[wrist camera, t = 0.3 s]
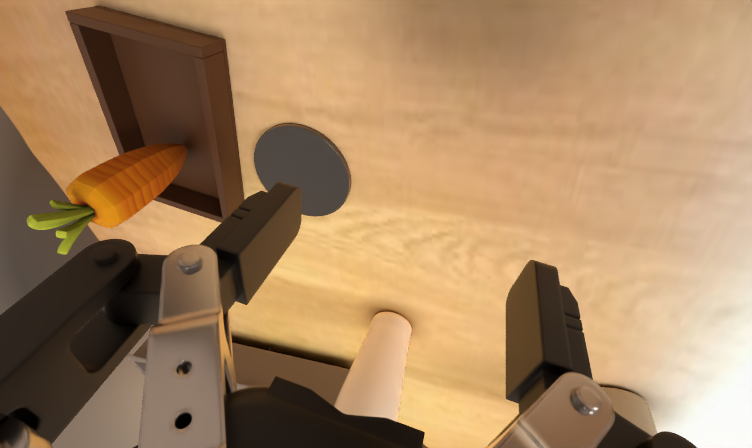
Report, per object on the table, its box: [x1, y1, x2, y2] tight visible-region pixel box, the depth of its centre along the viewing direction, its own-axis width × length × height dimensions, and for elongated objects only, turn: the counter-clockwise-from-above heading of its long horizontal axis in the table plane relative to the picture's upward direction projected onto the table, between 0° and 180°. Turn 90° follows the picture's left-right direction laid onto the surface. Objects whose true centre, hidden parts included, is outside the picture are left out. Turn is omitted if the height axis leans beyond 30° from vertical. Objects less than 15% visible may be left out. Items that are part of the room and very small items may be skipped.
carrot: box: [27, 143, 187, 254], centre depth 30 cm, size 5×5×15 cm
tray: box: [65, 6, 244, 223], centre depth 34 cm, size 18×12×3 cm, turn 171°
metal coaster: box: [254, 124, 351, 216], centre depth 34 cm, size 10×10×1 cm
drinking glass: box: [334, 312, 412, 422], centre depth 40 cm, size 7×7×15 cm
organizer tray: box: [126, 339, 350, 406], centre depth 65 cm, size 32×40×10 cm
